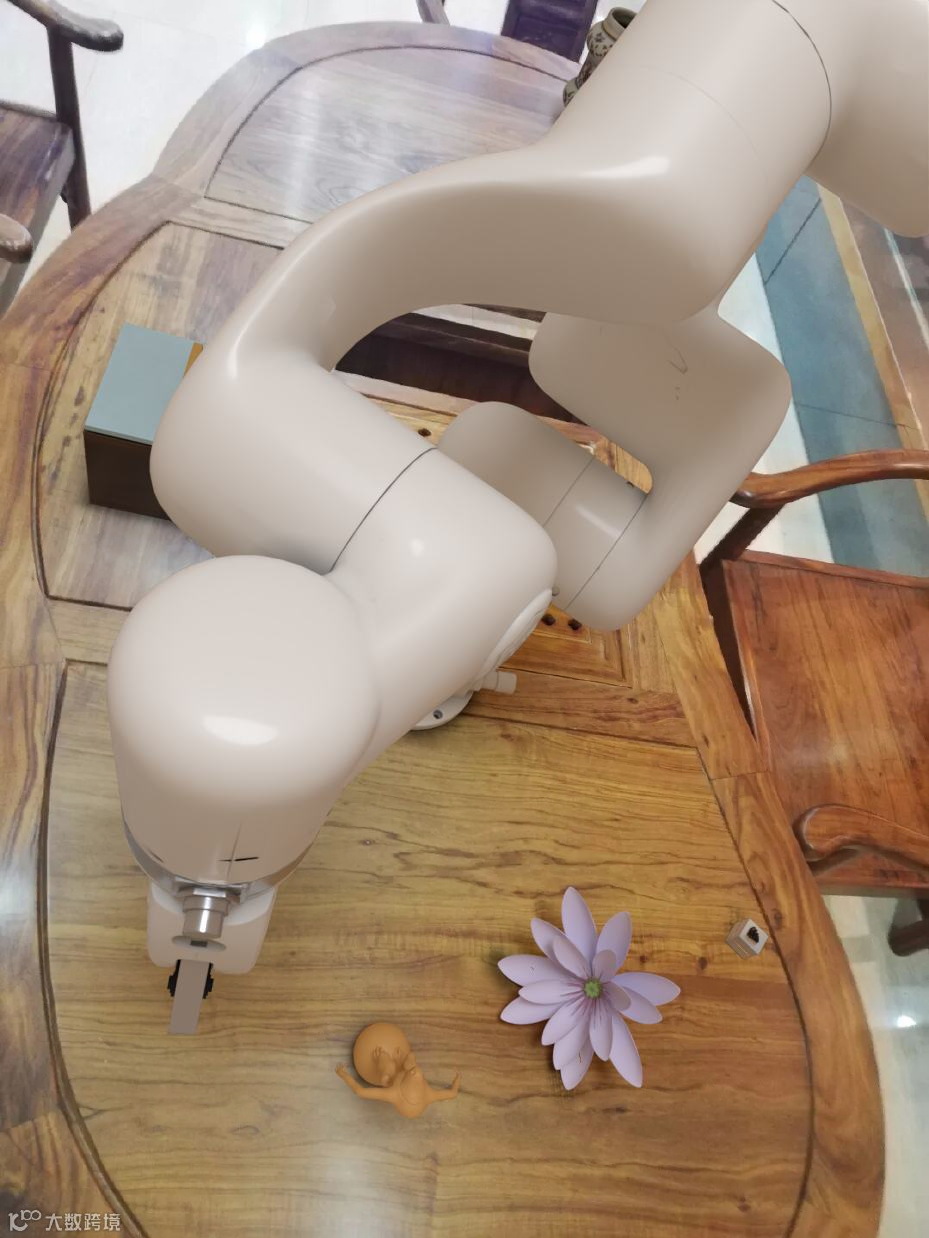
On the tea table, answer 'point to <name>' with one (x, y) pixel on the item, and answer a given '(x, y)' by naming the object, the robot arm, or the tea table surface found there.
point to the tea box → (120, 474)
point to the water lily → (585, 991)
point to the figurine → (393, 1071)
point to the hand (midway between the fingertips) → (207, 893)
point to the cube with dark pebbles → (746, 938)
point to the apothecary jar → (599, 46)
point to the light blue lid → (140, 382)
